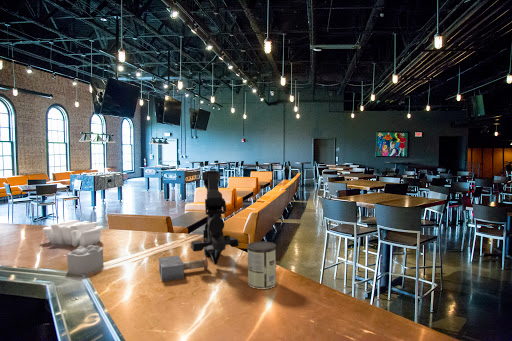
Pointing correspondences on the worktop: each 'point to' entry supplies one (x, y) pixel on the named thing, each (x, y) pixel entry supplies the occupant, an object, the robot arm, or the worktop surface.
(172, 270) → the block
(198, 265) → the pin
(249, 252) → the coffee can
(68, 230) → the wavy white extrusion
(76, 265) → the lumpy-topped squat cylinder
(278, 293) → the worktop surface
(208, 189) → the robot arm
